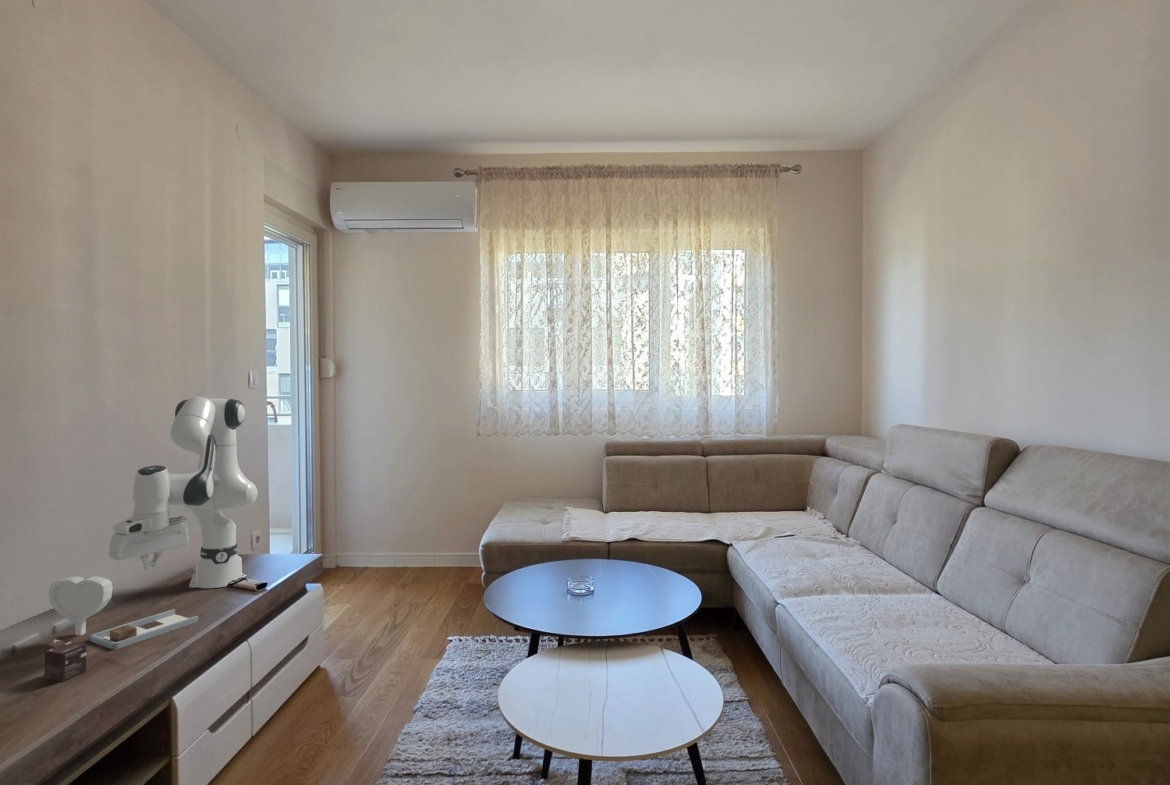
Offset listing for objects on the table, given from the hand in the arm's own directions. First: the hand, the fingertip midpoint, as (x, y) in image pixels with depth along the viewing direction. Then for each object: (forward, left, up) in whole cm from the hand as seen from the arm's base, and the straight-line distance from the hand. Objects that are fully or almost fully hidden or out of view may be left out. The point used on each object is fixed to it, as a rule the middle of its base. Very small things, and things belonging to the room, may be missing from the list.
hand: (150, 567), depth 177 cm
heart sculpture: (-10, -16, -21) cm, 28 cm away
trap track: (-3, 0, -21) cm, 21 cm away
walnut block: (+3, -6, -19) cm, 20 cm away
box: (+15, -18, -21) cm, 32 cm away
